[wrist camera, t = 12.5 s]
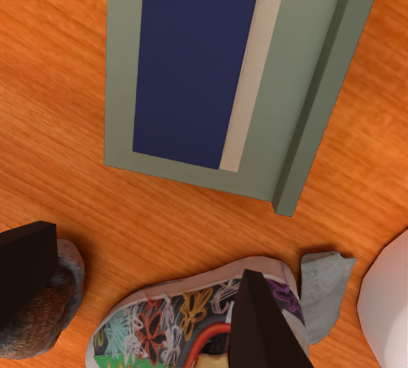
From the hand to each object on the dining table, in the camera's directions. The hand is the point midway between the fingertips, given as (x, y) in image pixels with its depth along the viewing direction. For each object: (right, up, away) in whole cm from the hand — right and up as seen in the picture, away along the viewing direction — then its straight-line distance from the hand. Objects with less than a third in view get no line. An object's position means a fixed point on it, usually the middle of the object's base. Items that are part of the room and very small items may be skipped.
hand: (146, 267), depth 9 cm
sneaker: (0, -9, +14) cm, 17 cm away
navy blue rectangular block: (+2, +9, +3) cm, 10 cm away
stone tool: (+9, -7, +10) cm, 15 cm away
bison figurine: (-12, -5, +15) cm, 20 cm away
